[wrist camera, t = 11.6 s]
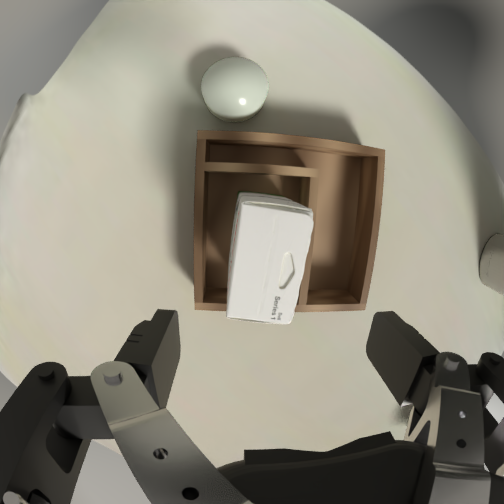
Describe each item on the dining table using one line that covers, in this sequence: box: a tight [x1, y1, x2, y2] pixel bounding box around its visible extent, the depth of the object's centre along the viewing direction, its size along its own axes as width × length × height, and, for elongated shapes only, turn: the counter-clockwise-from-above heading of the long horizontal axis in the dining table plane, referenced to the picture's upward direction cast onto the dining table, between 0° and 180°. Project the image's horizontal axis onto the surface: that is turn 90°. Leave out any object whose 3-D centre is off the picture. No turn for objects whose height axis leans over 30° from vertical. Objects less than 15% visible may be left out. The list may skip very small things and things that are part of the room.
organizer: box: [194, 130, 385, 312], centre depth 27 cm, size 18×17×4 cm
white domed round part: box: [201, 57, 269, 122], centre depth 24 cm, size 6×6×4 cm
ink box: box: [226, 191, 314, 324], centre depth 24 cm, size 9×5×12 cm, turn 172°
